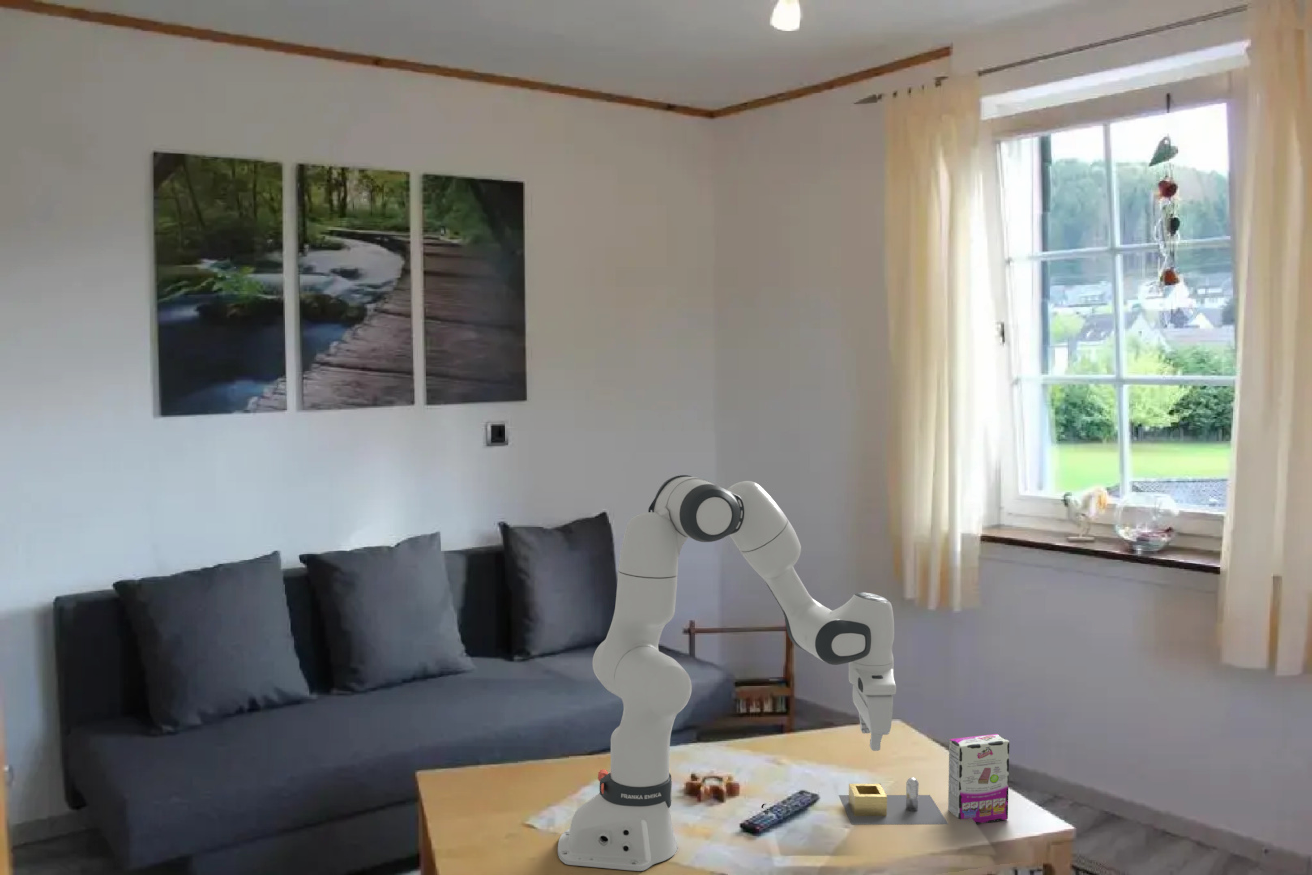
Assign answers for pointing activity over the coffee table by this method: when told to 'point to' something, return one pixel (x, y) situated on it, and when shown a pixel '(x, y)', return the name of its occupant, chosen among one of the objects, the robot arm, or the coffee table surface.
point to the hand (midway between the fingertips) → (870, 740)
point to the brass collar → (867, 800)
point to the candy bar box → (979, 778)
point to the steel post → (912, 794)
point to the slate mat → (900, 812)
